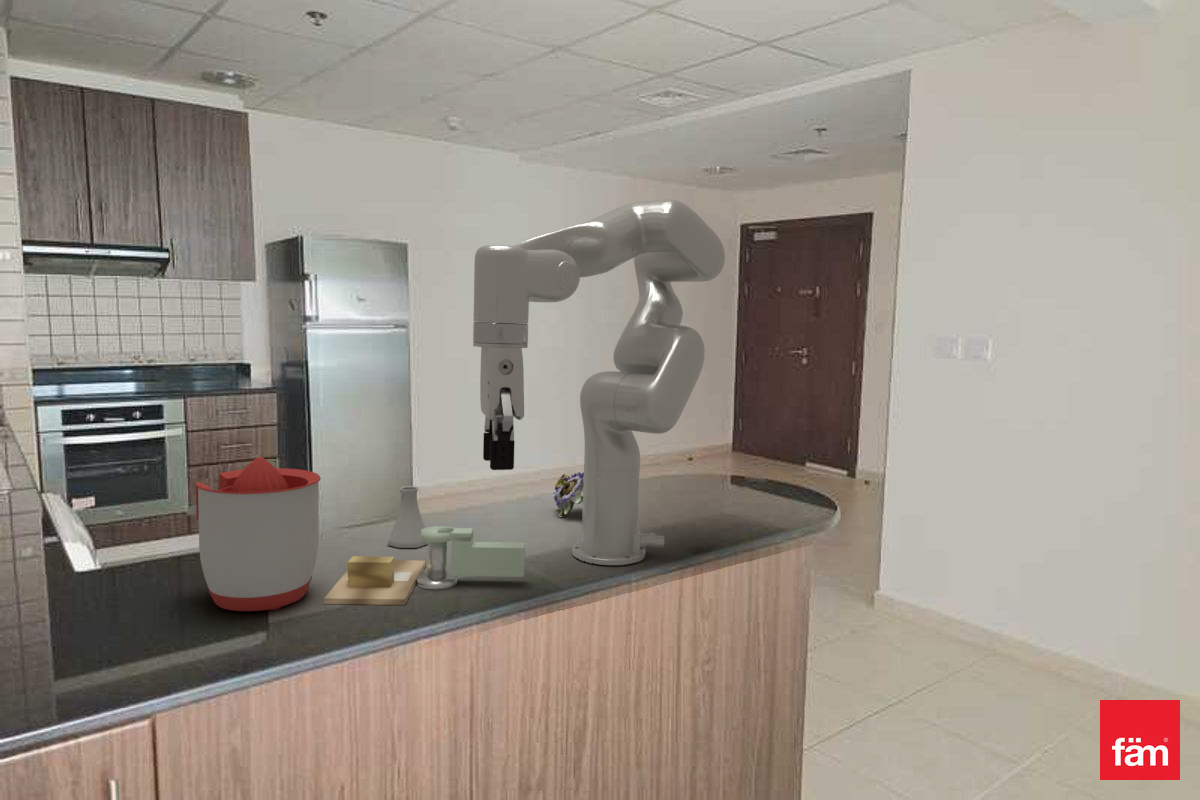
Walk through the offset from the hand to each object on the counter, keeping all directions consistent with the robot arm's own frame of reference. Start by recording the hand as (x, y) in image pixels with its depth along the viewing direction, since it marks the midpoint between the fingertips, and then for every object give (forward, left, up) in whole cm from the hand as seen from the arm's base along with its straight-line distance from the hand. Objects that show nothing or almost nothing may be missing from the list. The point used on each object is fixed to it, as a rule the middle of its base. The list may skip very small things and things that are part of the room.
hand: (498, 463), depth 107 cm
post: (+9, -6, -20) cm, 22 cm away
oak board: (+18, -5, -20) cm, 27 cm away
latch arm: (+4, -6, -18) cm, 19 cm away
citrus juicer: (+33, +1, -20) cm, 39 cm away
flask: (+17, -26, -20) cm, 37 cm away
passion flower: (-14, -47, -20) cm, 53 cm away
